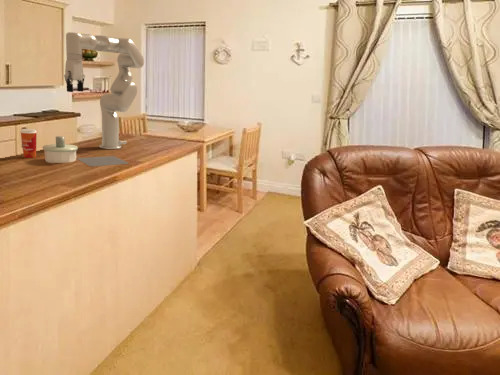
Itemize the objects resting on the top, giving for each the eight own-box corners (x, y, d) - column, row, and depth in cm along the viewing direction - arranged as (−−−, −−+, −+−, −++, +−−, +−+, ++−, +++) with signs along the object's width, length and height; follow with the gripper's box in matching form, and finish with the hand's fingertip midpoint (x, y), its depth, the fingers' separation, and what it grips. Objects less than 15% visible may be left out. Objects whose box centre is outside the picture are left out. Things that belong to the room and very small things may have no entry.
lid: (71, 145, 226) (71, 134, 224) (82, 151, 214) (82, 139, 213) (38, 146, 215) (38, 134, 214) (48, 152, 204) (47, 140, 202)
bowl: (70, 157, 226) (70, 145, 224) (79, 162, 216) (79, 150, 214) (41, 158, 217) (41, 147, 215) (50, 164, 207) (49, 152, 205)
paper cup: (17, 157, 217) (16, 129, 213) (30, 154, 223) (29, 127, 220) (29, 159, 214) (28, 131, 210) (42, 156, 221) (40, 129, 217)
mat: (113, 156, 235) (113, 155, 235) (129, 164, 220) (129, 163, 220) (76, 159, 222) (76, 158, 222) (90, 167, 207) (90, 166, 207)
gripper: (77, 58, 231) (77, 90, 236) (57, 56, 215) (58, 91, 219) (89, 59, 230) (90, 91, 235) (71, 57, 214) (72, 92, 218)
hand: (75, 91), depth 227 cm, fingers open, 9 cm apart
